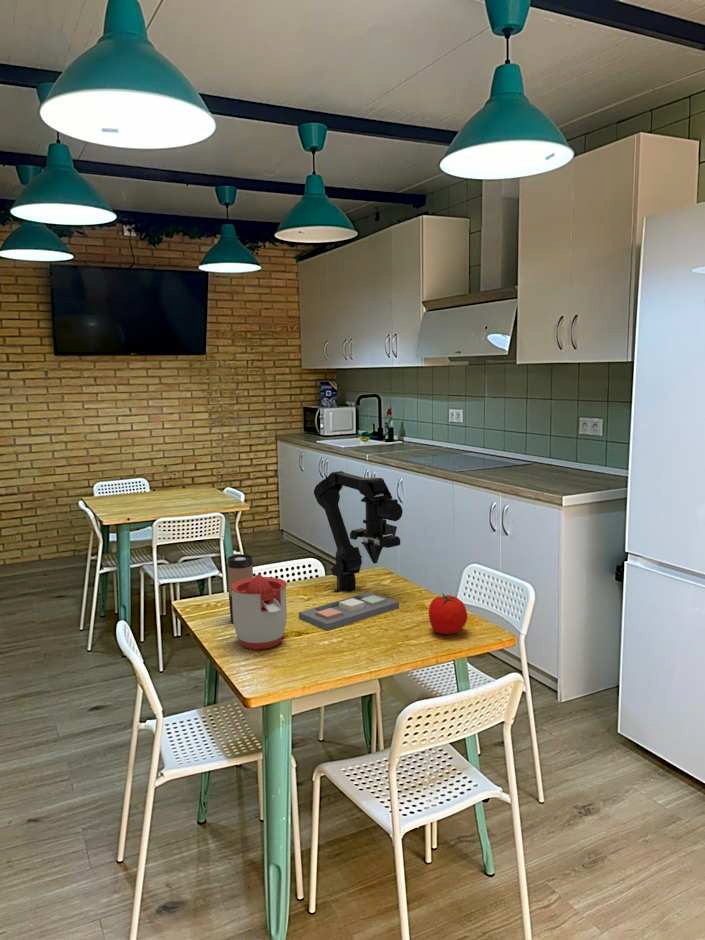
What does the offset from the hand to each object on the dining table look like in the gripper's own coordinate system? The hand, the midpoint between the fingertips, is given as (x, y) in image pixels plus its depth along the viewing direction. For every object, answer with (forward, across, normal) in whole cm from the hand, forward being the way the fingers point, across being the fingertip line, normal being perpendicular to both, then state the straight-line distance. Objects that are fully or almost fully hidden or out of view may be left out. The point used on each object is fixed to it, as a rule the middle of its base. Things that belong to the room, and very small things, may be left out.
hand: (375, 563), depth 232 cm
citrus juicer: (+13, -5, +48) cm, 50 cm away
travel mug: (+13, +15, +42) cm, 47 cm away
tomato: (+13, -35, +4) cm, 38 cm away
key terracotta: (+12, -6, +24) cm, 28 cm away
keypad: (+13, -5, +16) cm, 21 cm away
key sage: (+12, -6, +7) cm, 15 cm away
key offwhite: (+11, -6, +16) cm, 20 cm away
